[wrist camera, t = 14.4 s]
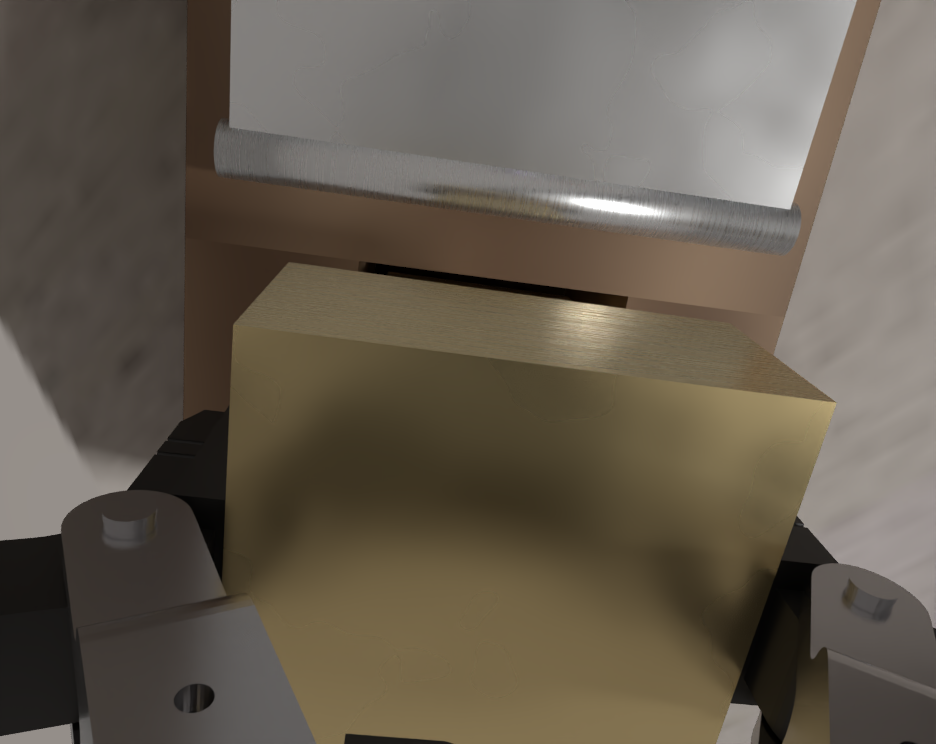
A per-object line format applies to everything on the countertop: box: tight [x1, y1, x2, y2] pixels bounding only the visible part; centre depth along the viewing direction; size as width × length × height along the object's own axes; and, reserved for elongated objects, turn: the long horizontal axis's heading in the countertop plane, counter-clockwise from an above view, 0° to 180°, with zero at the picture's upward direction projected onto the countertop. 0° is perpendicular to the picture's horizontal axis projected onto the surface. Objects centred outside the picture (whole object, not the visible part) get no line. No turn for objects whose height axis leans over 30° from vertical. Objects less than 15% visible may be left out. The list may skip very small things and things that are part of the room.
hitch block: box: [183, 0, 881, 420], centre depth 16 cm, size 12×22×6 cm, turn 172°
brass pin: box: [222, 262, 836, 744], centre depth 13 cm, size 6×6×8 cm
